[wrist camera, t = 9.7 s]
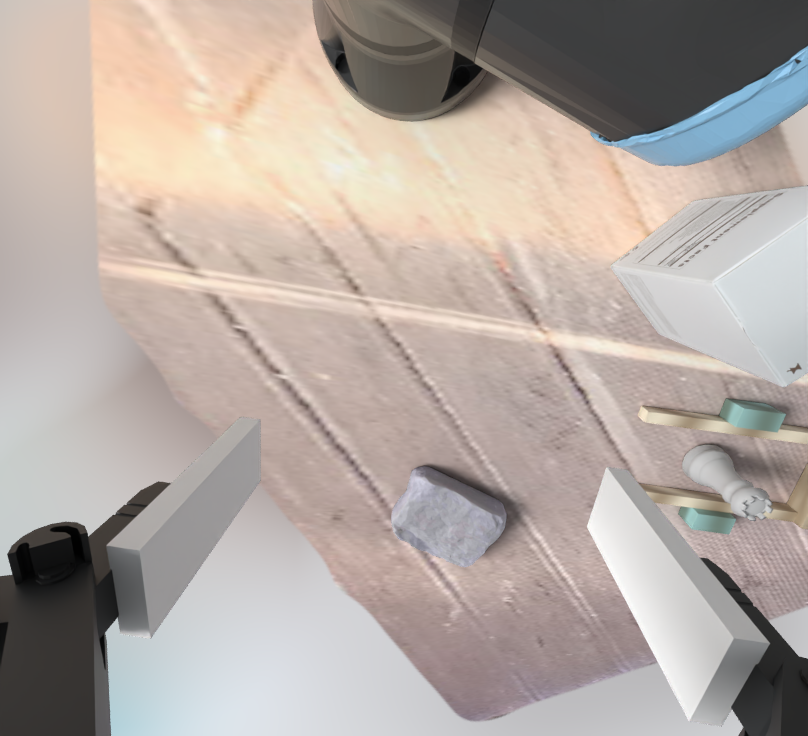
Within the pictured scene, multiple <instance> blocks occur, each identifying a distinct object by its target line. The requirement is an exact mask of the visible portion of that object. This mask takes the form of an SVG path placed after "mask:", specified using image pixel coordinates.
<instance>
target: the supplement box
mask: <svg viewBox="0 0 808 736" xmlns="http://www.w3.org/2000/svg"><path fill="white" fill-rule="evenodd" d="M611 269H612V270H613V272H614V273H615V275H616V276H617V277H618V279H619V280H620V282H621V283H622V284H623V286H624V287H625V289H626V290H627V291H628V293H629V294H630V295H631V297H632V298H633V300H634V301H635V302H636V304H637V305H638V306H639V308H640V309H641V311H642V312H643V313H644V315H645V316H646V317H647V319H648V320H649V322H650V323H651V324H652V326H653V327H654V328H655V330H656V331H657V332H658V334H660V335H662V336H664V337H667V338H669V339H671V340H674V341H676V342H678V343H680V344H683V345H685V346H687V347H690V348H692V349H694V350H697V351H699V352H701V353H704V354H706V355H708V356H711V357H713V358H715V359H718V360H720V361H722V362H725V363H727V364H729V365H732V366H734V367H737V368H739V369H741V370H744V371H746V372H748V373H750V374H753V375H755V376H758V377H760V378H762V379H765V380H767V381H769V382H772V383H774V384H776V385H779V386H781V387H786V386H788V385H789V384H791V383H793V382H794V381H796V380H797V379H799V378H801V377H802V376H804V375H805V374H807V373H808V185H807V186H800V187H792V188H785V189H777V190H770V191H762V192H755V193H747V194H739V195H732V196H725V197H717V198H710V199H702V200H695V201H693V202H691V203H690V204H689V205H687V206H686V207H685V208H683V209H682V210H681V211H680V212H678V213H677V214H676V215H675V216H673V217H672V218H671V219H669V220H668V221H667V222H666V223H664V224H663V225H662V226H660V227H659V228H658V229H657V230H655V231H654V232H653V233H651V234H650V235H649V236H648V237H646V238H645V239H644V240H643V241H641V242H640V243H639V244H637V245H636V246H635V247H634V248H632V249H631V250H630V251H628V252H627V253H626V254H625V255H623V256H622V257H621V258H619V259H618V260H617V261H616V262H614V263H613V264H612V265H611Z"/></svg>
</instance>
